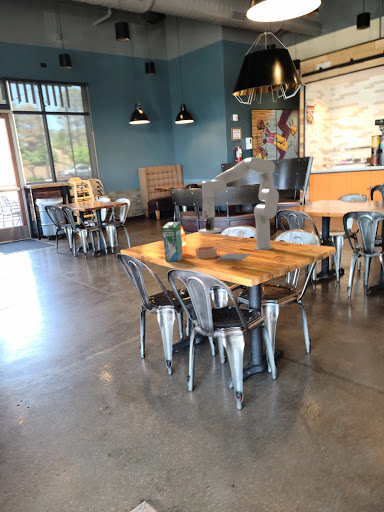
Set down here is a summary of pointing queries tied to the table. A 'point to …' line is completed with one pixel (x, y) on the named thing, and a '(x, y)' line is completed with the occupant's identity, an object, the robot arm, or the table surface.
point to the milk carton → (173, 241)
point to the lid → (212, 230)
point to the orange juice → (183, 240)
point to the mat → (234, 256)
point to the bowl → (206, 252)
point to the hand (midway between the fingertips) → (209, 228)
